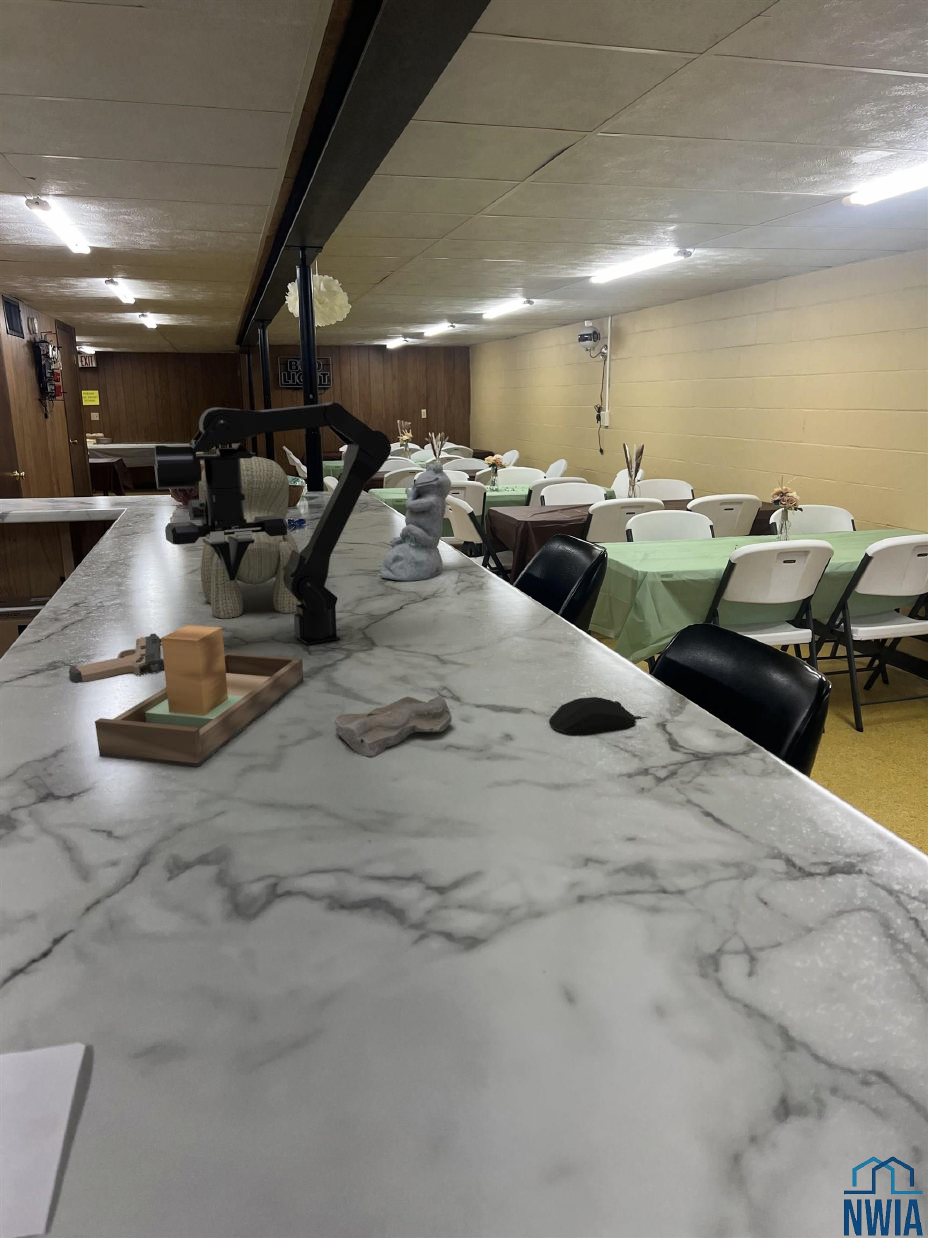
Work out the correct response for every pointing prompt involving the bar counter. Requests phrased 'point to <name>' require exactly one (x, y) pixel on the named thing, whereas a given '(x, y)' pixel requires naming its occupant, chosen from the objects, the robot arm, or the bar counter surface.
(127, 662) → the handgun
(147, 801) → the bar counter surface
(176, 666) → the block
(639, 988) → the bar counter surface
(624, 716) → the gaming mouse
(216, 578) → the toy
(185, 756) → the tray box
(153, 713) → the pad
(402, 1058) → the bar counter surface
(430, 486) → the sculpture
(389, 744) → the stone
